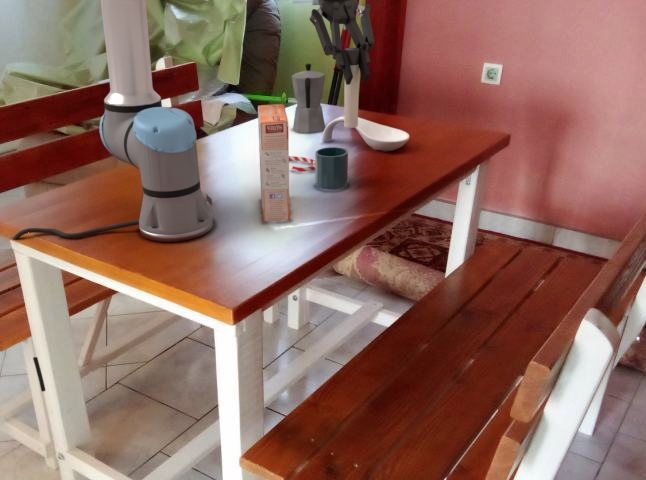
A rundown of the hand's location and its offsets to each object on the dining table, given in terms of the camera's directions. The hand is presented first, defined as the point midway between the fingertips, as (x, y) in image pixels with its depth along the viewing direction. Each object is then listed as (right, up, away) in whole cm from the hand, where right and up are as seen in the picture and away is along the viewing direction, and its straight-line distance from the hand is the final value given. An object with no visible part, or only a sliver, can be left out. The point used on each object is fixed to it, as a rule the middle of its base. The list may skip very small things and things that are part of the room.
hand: (358, 79), depth 149 cm
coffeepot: (-6, +6, +57) cm, 58 cm away
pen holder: (-4, -19, +16) cm, 25 cm away
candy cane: (-12, -10, +31) cm, 35 cm away
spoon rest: (+8, -3, +41) cm, 42 cm away
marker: (0, -7, +9) cm, 11 cm away
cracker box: (-17, -26, +5) cm, 32 cm away
